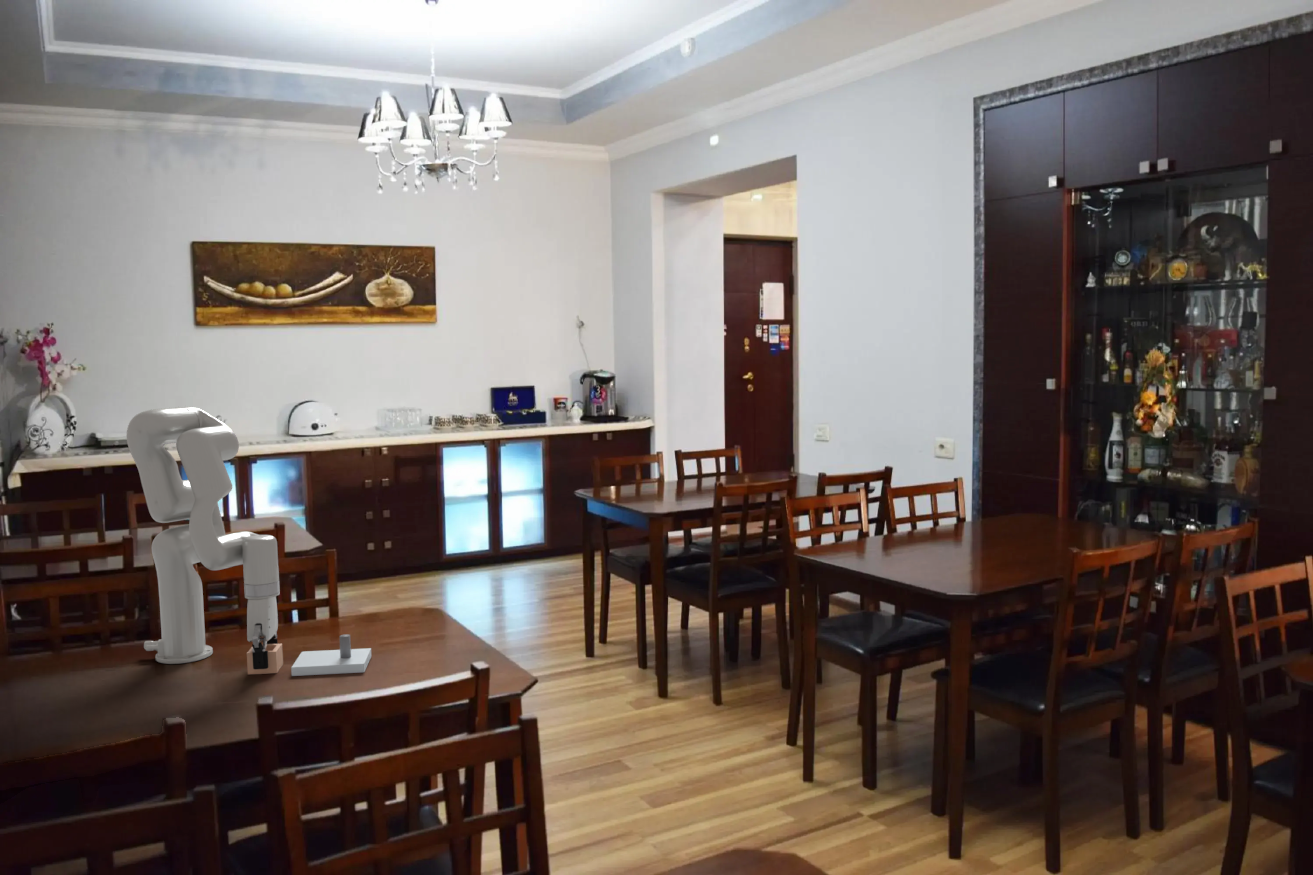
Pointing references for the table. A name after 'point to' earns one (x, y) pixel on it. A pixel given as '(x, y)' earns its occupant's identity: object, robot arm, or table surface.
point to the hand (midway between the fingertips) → (266, 661)
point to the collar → (273, 660)
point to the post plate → (332, 660)
